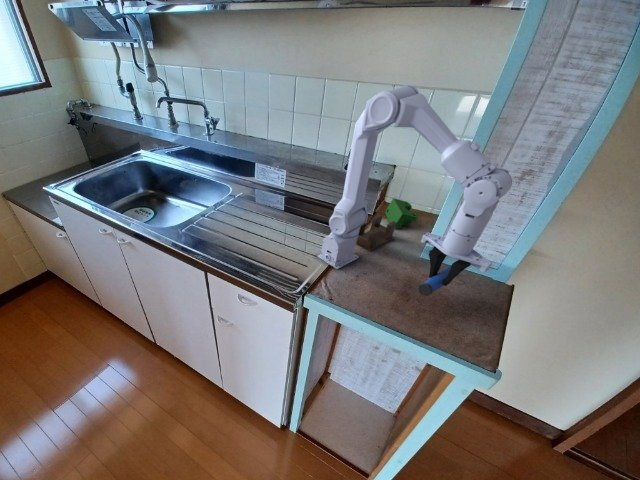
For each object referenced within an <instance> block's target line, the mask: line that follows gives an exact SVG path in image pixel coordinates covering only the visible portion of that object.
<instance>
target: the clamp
mask: <svg viewBox="0 0 640 480" xmlns="http://www.w3.org/2000/svg"><path fill="white" fill-rule="evenodd" d="M412 208H413V206H412V205H411V203H410V202H408V201H405V200H401V199H398V198H392V200H391V201H390V203H389V205H388V206H387V208H386V209H385V216H386V218H387V220H388V221H389V223H391V222H393V221H394V222H397V223H396V226H395V229H401V227H402V226H408V227H410V225H411V223H412V222H416V221H417V220H418V218H419V215H418V213H416V212H413V211H411V209H412Z"/></svg>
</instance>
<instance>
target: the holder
mask: <svg viewBox="0 0 640 480" xmlns="http://www.w3.org/2000/svg"><path fill="white" fill-rule="evenodd" d="M382 219H383V215H382V214H377V215H375V216H373V218H372V222H371V226H370V228H369V230H368V231H366V232H365V230H366V226H367V223H366V222H365V223H364V224H363V225H361V227H360V230H359V235H358V238H357V242H356V245H357V246H359V247H361V248H363V249H365V250H367V252H371V251H372V250H375V249H377V248H379V247H380V246H382V245H384V244H386V243H388V242H390V241H393V235H394V231H395V229H396V228H395V226H396V223H397V222H394V221H393V222H391V223H390V222H389V223H387V225H386V226H384V225H383V224H381V222H382Z"/></svg>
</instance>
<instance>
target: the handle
mask: <svg viewBox="0 0 640 480" xmlns="http://www.w3.org/2000/svg"><path fill="white" fill-rule="evenodd" d="M451 265H452V264H451ZM451 265H448V266H446V267H445V268H444V269H442V270H439V271H438V273H437V274H436V275H434V276H433V277H431V278H430V277H429V278H428V279H427V280H425V281H424V282H422V283H421V284H419V285H418V287H417V290H418V293H419V294H420V295H422V296H425V297H429V296H430V295H431V294H433V293H434V292H436V291H437V290H438V289H440V288H442V287H443V286H444V285H443V282H444V281H445V279H446V277H447V276H448V274H449V271H450V269H451Z"/></svg>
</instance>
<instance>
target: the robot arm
mask: <svg viewBox="0 0 640 480" xmlns="http://www.w3.org/2000/svg"><path fill="white" fill-rule="evenodd" d="M392 125H393V127H394V128H412V129H414V130H415V131H416V132H417V133H418V134H419V135H420V136H421V137H422V138H424V140H425V141H426V142H428V143H429V144H430V145H431V146H432V147H433V148H434V149H435V150H436V151H438V153H440V155H441V157H440V165H441V166H442V167H443V169H444V170H445V171H446V172H447V173H448V174H449V175H450V176H451V177H452V178H453V180H455V182H456V184H458V185H459V186H460V187H461V188H462V189H463V194H462V195H463V199H464V200H463V201H462V204H461V206H460V207H459V209H458V211H457V212H456V215H455V217H454V219H453V221H452V223H451V225H450V227H449V230H448V231H447V233H446V235H445V237H444V236H441V235H437V234H433V233H431V232H428V231H427V232H426V233H424V234H423V235H422V237H421V239H420V243H422V244H428V245H430V246H431V247H432V248H431V249H430V251H428V254H427V255H428V258H429V273H428V278H429V279H430V278H431V277H433V276H434V275H436V274H437V273H439V272H440V269H441V266H442V264H443V263H444V261H445V259H446V258H447V257H450V258H453V259H456V260H455V261H454V262H452V263H451V269H450V271H449V274H448V276H447V277H446V279H445V281H444V282H443V286H444V287H447V286H448V285H450V284H451V283H452V281H453V280H454V279H455V278H457V277H458V276H459V275H460V273H462V272H463V271H464V270H467V268H469V267H470V266H473V267H475V268H477V269H479V270H478V271H479V272H481V273H486V272H488V270H490V268H491V267H492V265H493V263H494V262H493V261H492V260H490V259H488V258H486V257H485V256H483V255H482V254H480V253H479V252H478V251H476V250H475V249H474V248H475V247H476V244H477V243H478V241H479V239H480V237H481V236H482V234H483V232H484V231H485V229H486V227H487V225H488V224H489V222H490V220H491V219H492V216H493V215H494V211H495V210H496V209H497V206H498V204H499V202H500V200H501V198H503V197H504V196H505V195H506V194H508V193H509V191H510V190H511V188H512V186H513V178H512V175H511V174H510V171H509V170H508V169H506V168H504V167H499V165H498V164H496V162H493V163H492V162H491V161H490V160H489V158H487V157H486V155H484V154H483V152H482V151H481V150H480V149H481V147H482V146H481V145H480V144H479V142H477V141H476V142H472V141H471V140H468V139H467V140H460V139H458V138H457V136H456V135H455V134H454V133H453V132H452V130H451V129H450V128H449V127H448V126H447V124H446V123H445V122H444V120H442V118H441V116H439V114H438V113H437V112H436V111H435V110H434V109H433V107H432V106H431V105H430V103H429V101H428V99H427V97H426V95H424V94H423V93H421V92H419V90H418V88H417V87H416V86H414V85H412V84H404V85H401V86H400V87H397V88H393V89H388V90H382V91H380V92H378V93H376V94H375V95H374V96H372V97H371V98H370V99H367V101H366V103H365V108H364V110H363V111H362V112H361V114H360V115H359V117H358V119H357V120H356V122H355V125H354V130H353V135H352V140H351V147H350V152H349V159H348V163H347V168H346V175H345V181H344V187H343V192H342V197H341V199H340V200H339V201H338V203H337V204H336V205H335V207H334V208H333V213H332V215H331V216H330V218H329V220H328V226H329V229H330V231H331V232H330V233H329V234H328V235H327V236H325V237H324V238H323V240H322V243H321V249H320V253H319V254H318V255H317V257H318V258H319V259H321V260H322V261H324V262H325V263H326V264H329V265H330V266H331V267H333V268H334V269H337V270H339V269H341V268H342V267H345V266H347V265H349V264H350V263H352V262H354V261H356V260H358V259H359V258H360V256H359V255H358V254H356V253H355V249H356V246H357V244H356V242H357V238H358V235H359V230H360V227H361V225H363V224H364V223H366V222H367V221H368V218H369V214H368V201H367V200H366V198H365V196H366V192H367V187H368V182H369V179H370V174H371V171H372V170H371V169H372V164H373V160H374V155H375V151H376V147H377V142H378V137H379V134H380V133H382V132H383V131H385V130H386V129H387V128H389V127H391V126H392Z"/></svg>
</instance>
